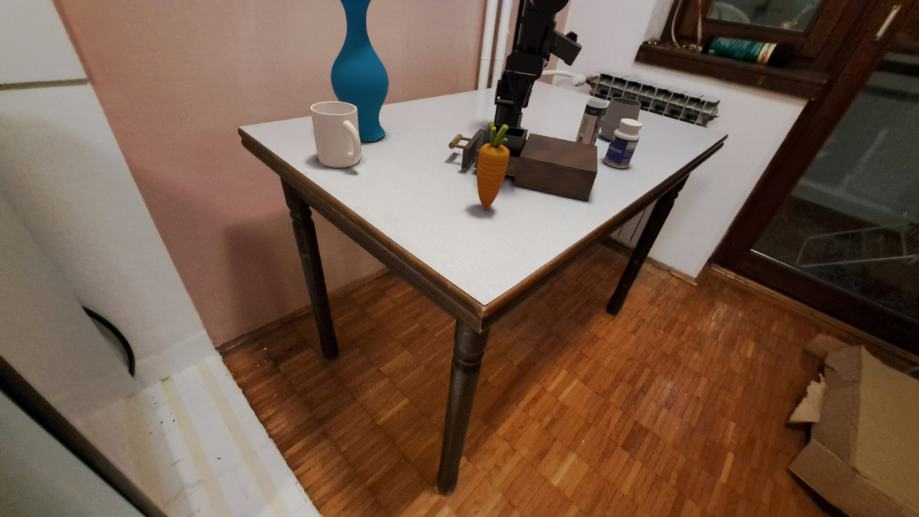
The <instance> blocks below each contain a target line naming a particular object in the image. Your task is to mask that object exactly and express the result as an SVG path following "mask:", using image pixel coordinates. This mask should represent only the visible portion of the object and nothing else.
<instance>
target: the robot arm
mask: <svg viewBox="0 0 919 517" xmlns="http://www.w3.org/2000/svg"><path fill="white" fill-rule="evenodd" d="M569 1H570V0H518V4H517V10H516V16H515V22H514V29H513V35H512V42H511V48H510V54H508V55H507V56H506V59H505V66H504V67H503V69H502V70H501V73H500V78H499V79H497V82H496V87H495V93H494V98H493V105H494V106H495V112H494V119H493V123H495V124H500V125H503V124H504V125H507V126H511V127H516V128H521V127H522V126H521V124H522V121H523V115H524V113H523V112H522V111H523V109H527V108H528V107H529V102H530V99H531V96H532V93H533V87H534V85H535V82H536V81H538V80H539V79H541V77H542V75H543V74H544V73H543V72H544V69H545V68H546V67H548V65H549V62H550V61H551V59H552V58H551V57H552V55H553V56H555V57H557V58H558V59H560V60H561V61H563V63H564V64H565V65H567V66H569V67H572V65H573V64H574V62H575V61H576V59H577V58H578V56H579V54H580V53H581V51H582V50H583V46H582V45H581V43H578V36H579V34H578V33H576V32H575V31H573V30H570V31H569V32H567V33H566V34H565V33H563V32H560V31H559V30H557V29H556V28H557V23H558V21H556V20H557V19H556V16H557V14H558V13H559V12H561V11H562V10H563V9H564V8H566V6H567V5H568V3H569ZM521 129H522V128H521Z"/></svg>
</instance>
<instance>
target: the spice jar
mask: <svg viewBox="0 0 919 517" xmlns="http://www.w3.org/2000/svg"><path fill="white" fill-rule="evenodd" d="M607 106H608V102H607V101H606V100H605V99H602V98H596V97H590V98H589V99H588V100H587V101H586V104H585V106H584V107H585V108H584V111H583V114H582V117H581V120H580V125H579V127H578V131H577V134H576V137H575V141H574V142H579V143H585V144H590V145H595V146H596V142H597V139H598V136H599V133H600V131H601V124H602V121H603V118H604V115H605V112H606V109H607Z"/></svg>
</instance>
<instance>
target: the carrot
mask: <svg viewBox="0 0 919 517" xmlns="http://www.w3.org/2000/svg"><path fill="white" fill-rule="evenodd" d="M489 125H490V131H491V134H490V135H491V143H487V144H485V145H483V146H482V148H481V149H480V151H479V157H478V167H477V168H476V188H477V194H478V198H479V202H480V204H481V206H482V208H483V209H485V210H487V209H489V208H490V206H492V204H493V203H494V201H495V199H497V196H498V195H499V192H500V190H501V187H502V185H503V182H504V180H505V177H506V175H505V173H506V169H507V164H508V160H509V154H510V153H509V150H508V148H506V147H505V146H503V145H502V144H503V143H504V142H506V141H507V140H508V139H507V138H503V139H502V140H501V137H502V136H503V135H504V134H505V132H506V131H507V129H508V126H507V125H504V124H503V126H502V127H501V129H500V130H499V132H498V133H497V135H496V138H495V133H496V127H494V120H492V121H489V122H488V126H489Z"/></svg>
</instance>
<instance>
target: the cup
mask: <svg viewBox="0 0 919 517" xmlns="http://www.w3.org/2000/svg"><path fill="white" fill-rule="evenodd" d="M641 106H642V103H641V102H640V101H638V100H635V99H632V98H628V97H619V96H614V97H611V99H610V101H609V102H608V104H607V109H606V112H605V115H604V118H603V121H602V124H601V127H600V132H601V136H602V138H603V139H606V140H608V141H610V142H611V139H612V136H613V133H614V131H615V130H616V129H618V128H619V123H620V121H621V119H633V120H636V121H639V116H640V112H641Z"/></svg>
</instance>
